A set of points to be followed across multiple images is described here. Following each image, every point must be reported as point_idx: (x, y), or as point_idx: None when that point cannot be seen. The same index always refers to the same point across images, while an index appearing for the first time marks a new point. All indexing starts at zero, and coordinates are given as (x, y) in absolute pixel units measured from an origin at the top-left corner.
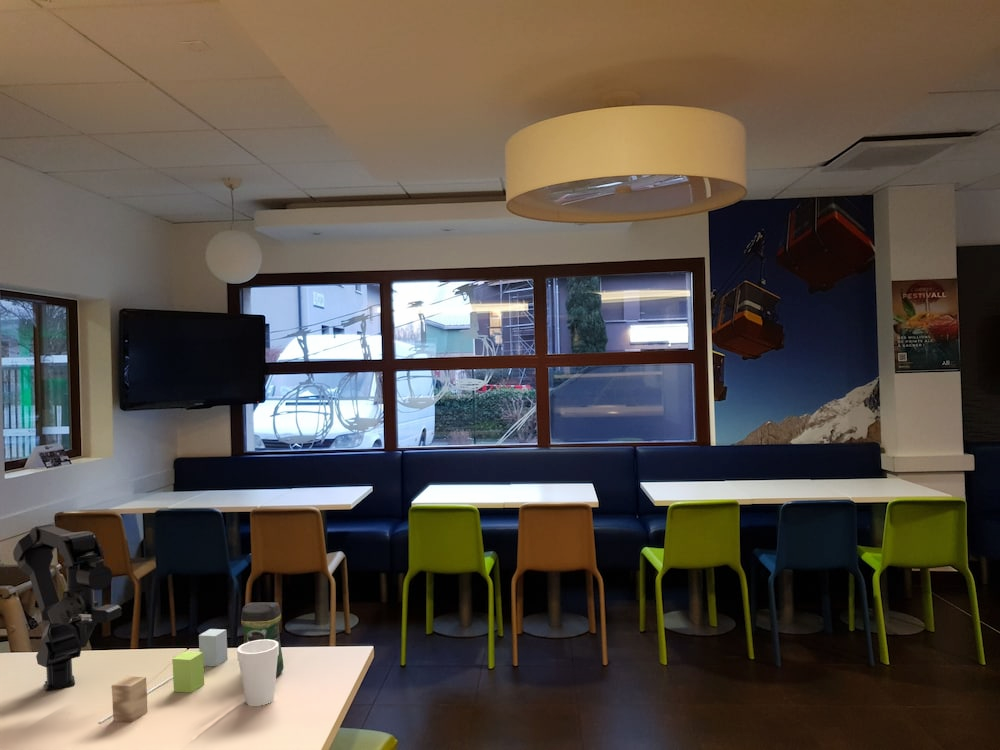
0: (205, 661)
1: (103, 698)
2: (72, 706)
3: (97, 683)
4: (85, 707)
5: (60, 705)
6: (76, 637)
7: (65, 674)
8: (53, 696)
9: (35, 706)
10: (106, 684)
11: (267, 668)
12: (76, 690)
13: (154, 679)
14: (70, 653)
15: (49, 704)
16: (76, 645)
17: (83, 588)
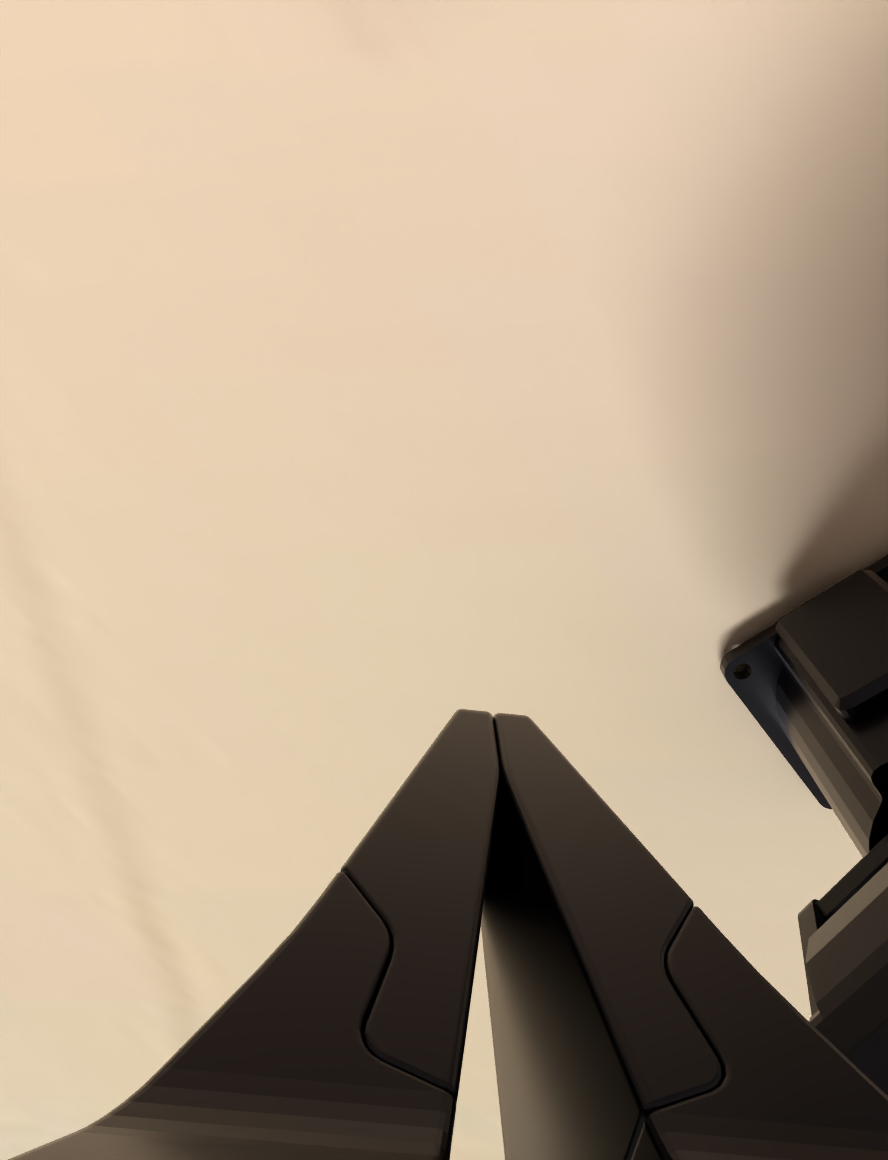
0: None
1: (242, 402)
2: (435, 199)
3: (529, 699)
4: (272, 179)
5: (587, 220)
6: (624, 856)
7: (819, 672)
8: (792, 433)
9: (859, 183)
10: (432, 682)
11: None
12: (636, 564)
13: (81, 771)
14: (879, 871)
15: (726, 241)
16: (841, 973)
17: None
